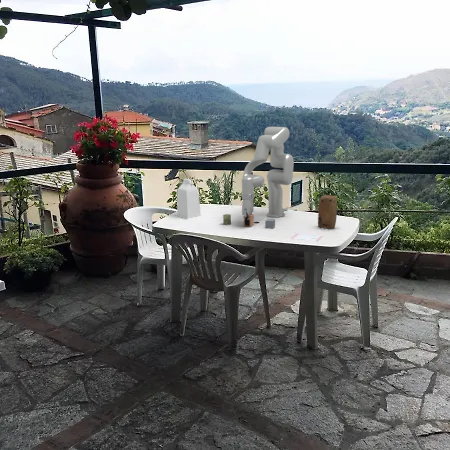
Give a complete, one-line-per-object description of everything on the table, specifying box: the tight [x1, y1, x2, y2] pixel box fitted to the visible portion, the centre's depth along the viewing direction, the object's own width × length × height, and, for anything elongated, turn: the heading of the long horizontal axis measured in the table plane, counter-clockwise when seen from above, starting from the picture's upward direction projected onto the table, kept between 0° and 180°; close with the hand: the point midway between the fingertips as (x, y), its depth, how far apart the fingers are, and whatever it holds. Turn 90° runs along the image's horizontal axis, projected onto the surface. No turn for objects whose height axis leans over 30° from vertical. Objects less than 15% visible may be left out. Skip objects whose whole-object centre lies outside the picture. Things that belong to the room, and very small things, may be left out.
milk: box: [176, 178, 202, 220], centre depth 313 cm, size 12×12×26 cm
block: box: [317, 194, 338, 230], centre depth 277 cm, size 11×8×20 cm
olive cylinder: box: [222, 213, 232, 226], centre depth 293 cm, size 5×5×6 cm
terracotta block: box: [242, 213, 254, 228], centre depth 287 cm, size 5×5×7 cm
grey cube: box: [264, 218, 276, 230], centre depth 283 cm, size 5×5×5 cm
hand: (248, 224), depth 288 cm, fingers closed on terracotta block, 5 cm apart
